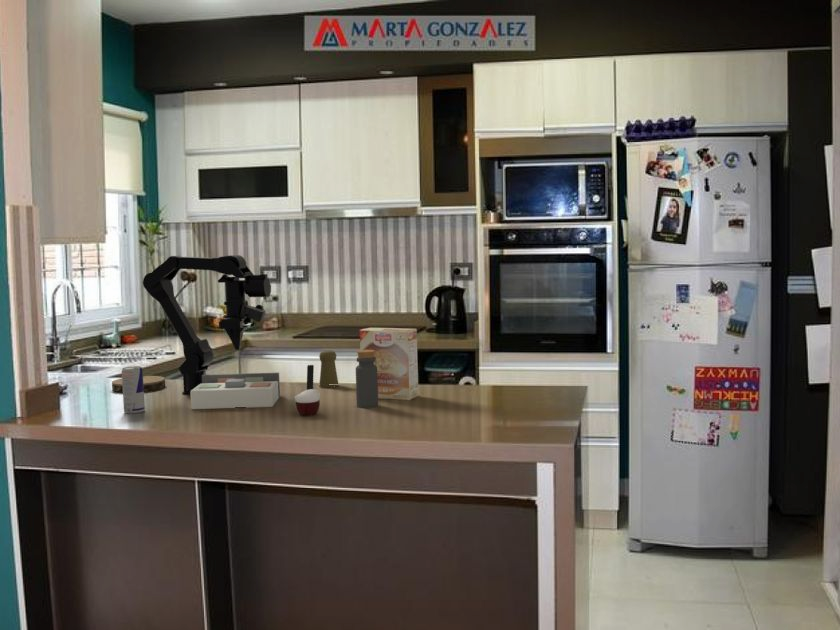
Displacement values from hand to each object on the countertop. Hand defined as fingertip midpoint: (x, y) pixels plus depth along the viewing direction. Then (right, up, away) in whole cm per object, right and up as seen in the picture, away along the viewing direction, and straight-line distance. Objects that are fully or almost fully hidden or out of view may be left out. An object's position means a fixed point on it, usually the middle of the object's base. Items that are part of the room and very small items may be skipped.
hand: (237, 349), depth 249 cm
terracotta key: (+10, -13, -16) cm, 23 cm away
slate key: (+3, -12, -16) cm, 20 cm away
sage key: (-4, -13, -16) cm, 21 cm away
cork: (+26, -12, +9) cm, 30 cm away
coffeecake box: (+46, -13, -12) cm, 49 cm away
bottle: (+40, -14, -24) cm, 49 cm away
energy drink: (-23, -16, -23) cm, 36 cm away
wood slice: (-34, -13, +13) cm, 39 cm away
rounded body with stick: (+25, -16, -32) cm, 44 cm away
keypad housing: (+3, -14, -14) cm, 20 cm away
